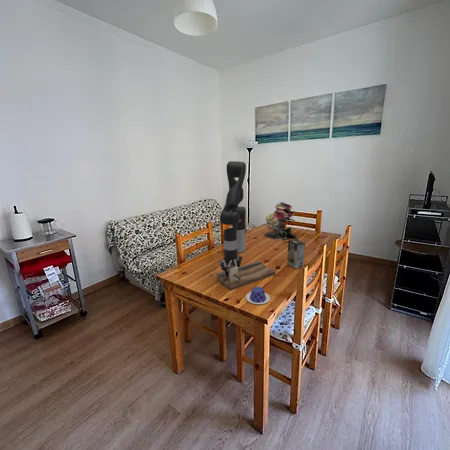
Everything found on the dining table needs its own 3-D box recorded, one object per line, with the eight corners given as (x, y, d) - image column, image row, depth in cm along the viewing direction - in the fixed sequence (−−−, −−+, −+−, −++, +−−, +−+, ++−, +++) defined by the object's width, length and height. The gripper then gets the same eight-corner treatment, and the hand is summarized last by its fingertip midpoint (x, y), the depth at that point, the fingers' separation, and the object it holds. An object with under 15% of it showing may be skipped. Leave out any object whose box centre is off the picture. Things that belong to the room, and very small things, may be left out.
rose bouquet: (282, 229, 235) (283, 198, 227) (302, 238, 208) (304, 203, 200) (258, 233, 226) (258, 200, 218) (275, 243, 200) (276, 206, 192)
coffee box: (286, 263, 162) (287, 240, 158) (295, 261, 164) (296, 238, 160) (295, 268, 154) (296, 244, 149) (303, 267, 156) (305, 242, 152)
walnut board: (217, 279, 143) (217, 273, 142) (260, 265, 159) (260, 260, 158) (230, 290, 131) (230, 283, 130) (275, 274, 148) (275, 268, 147)
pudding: (256, 308, 116) (256, 298, 114) (241, 297, 125) (240, 287, 124) (275, 300, 122) (275, 290, 120) (259, 289, 132) (259, 280, 130)
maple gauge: (224, 276, 143) (224, 265, 141) (231, 274, 145) (230, 263, 143) (236, 284, 133) (236, 272, 131) (243, 282, 135) (243, 270, 133)
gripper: (237, 242, 143) (237, 269, 147) (215, 248, 135) (216, 276, 140) (245, 246, 136) (245, 274, 141) (223, 252, 129) (223, 281, 134)
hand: (231, 275), depth 140 cm, fingers closed on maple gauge, 4 cm apart
